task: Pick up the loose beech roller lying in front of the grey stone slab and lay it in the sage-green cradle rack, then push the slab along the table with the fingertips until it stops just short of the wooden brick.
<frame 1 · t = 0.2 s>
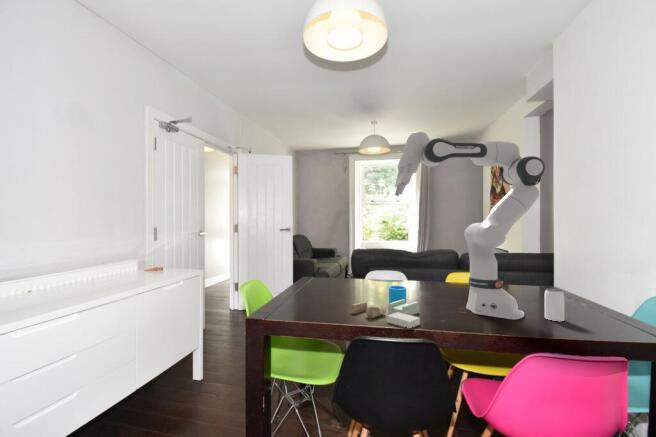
hand: (398, 194, 142), 52 cm above the table, tool tilted 20°, fingers open, 8 cm apart
cradle: (403, 313, 133), on the table
wooden brick: (359, 311, 135), on the table
can: (554, 320, 125), on the table
slab: (403, 324, 120), on the table
roller: (376, 316, 129), on the table
mug: (396, 304, 149), on the table
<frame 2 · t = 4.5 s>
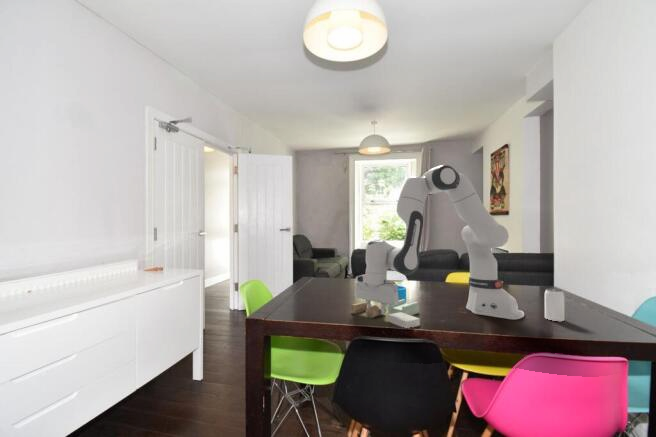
hand: (376, 312, 129), 2 cm above the table, tool pointing down, fingers closed on roller, 4 cm apart
roller: (376, 315, 129), on the table, touching gripper
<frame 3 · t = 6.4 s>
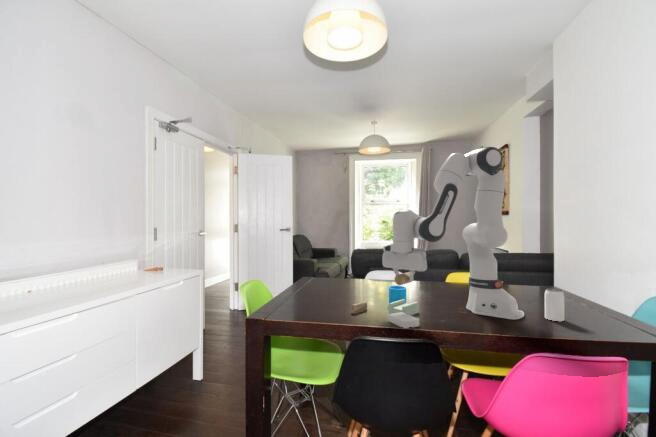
hand: (404, 279, 133), 14 cm above the table, tool pointing down, fingers closed on roller, 4 cm apart
roller: (404, 283, 133), point 13 cm above the table, touching gripper
everything else where it was.
when the fingers open (6 cm above the table, at t = 8.3 s): roller stays where it is, resting on cradle.
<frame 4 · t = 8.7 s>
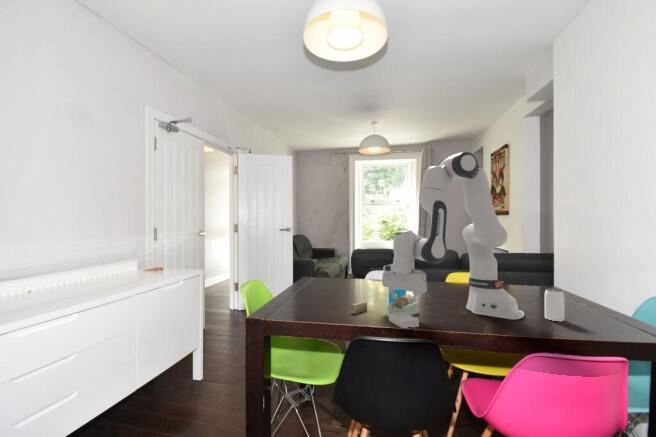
hand: (403, 300, 133), 6 cm above the table, tool pointing down, fingers open, 8 cm apart
roller: (403, 306, 133), point 3 cm above the table, touching cradle
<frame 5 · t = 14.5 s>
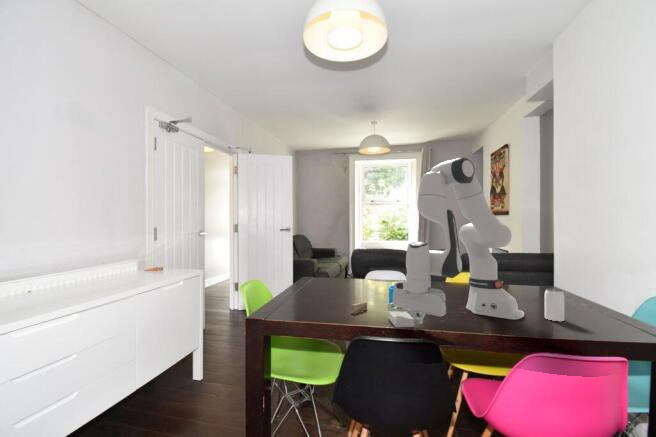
hand: (418, 323, 115), 2 cm above the table, tool pointing down, fingers closed
slab: (400, 322, 121), on the table, touching gripper
roller: (403, 306, 133), point 3 cm above the table, tilted 11°, touching cradle
everything else where it was.
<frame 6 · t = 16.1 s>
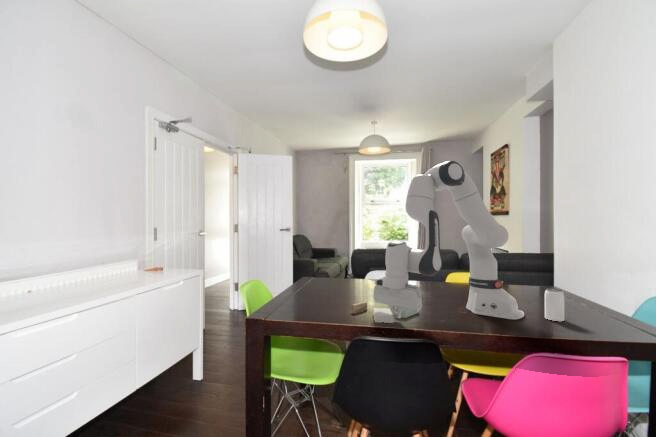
hand: (396, 317, 122), 2 cm above the table, tool pointing down, fingers closed
slab: (382, 319, 126), on the table, touching gripper
roller: (403, 306, 133), point 3 cm above the table, touching cradle
everything else where it was.
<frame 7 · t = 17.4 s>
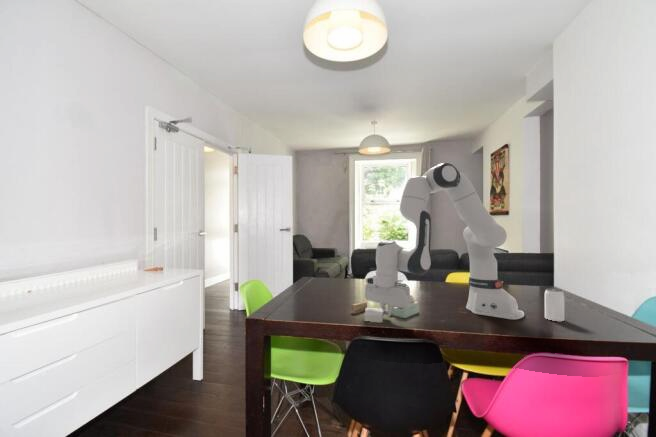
hand: (386, 314, 125), 2 cm above the table, tool pointing down, fingers closed
slab: (373, 318, 126), on the table, touching gripper
roller: (403, 306, 133), point 3 cm above the table, tilted 13°, touching cradle
everything else where it was.
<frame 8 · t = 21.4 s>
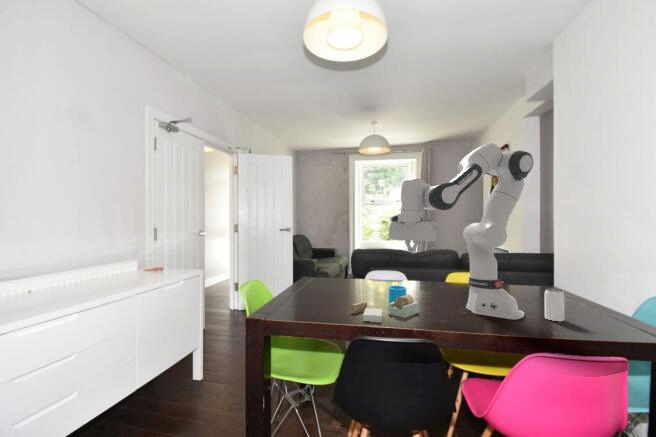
hand: (411, 251, 126), 27 cm above the table, tool pointing down, fingers closed
slab: (373, 319, 126), on the table
roller: (403, 306, 133), point 3 cm above the table, touching cradle
everything else where it was.
at the end: slab inside the target area (4.2 cm from its centre), on the table; roller inside the target area on the cradle (0.0 cm from its centre), point 3.0 cm above the cradle's base; slab tilted 0° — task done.
